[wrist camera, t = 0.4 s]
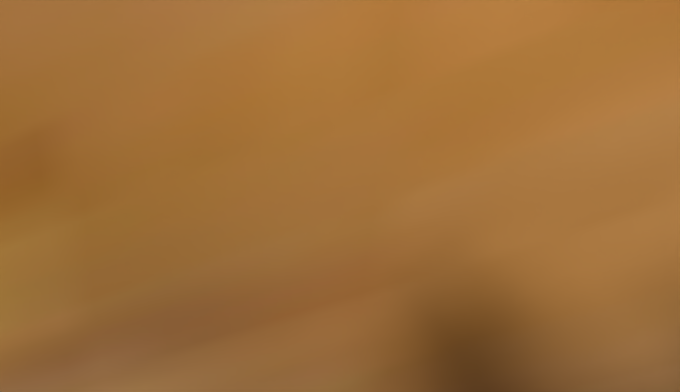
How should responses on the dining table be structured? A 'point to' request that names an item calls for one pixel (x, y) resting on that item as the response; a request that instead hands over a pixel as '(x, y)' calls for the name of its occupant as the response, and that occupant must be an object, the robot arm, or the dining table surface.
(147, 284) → the dining table surface
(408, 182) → the dining table surface
